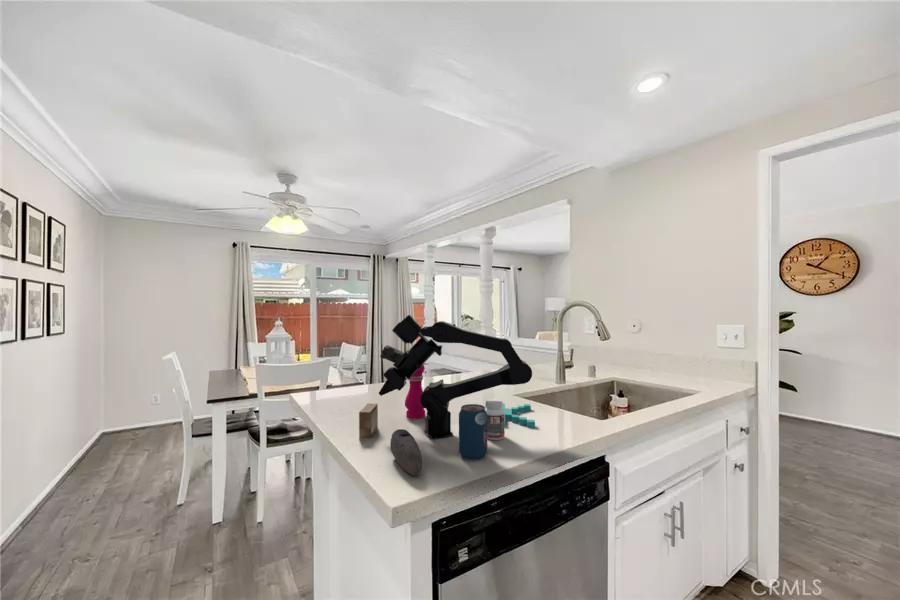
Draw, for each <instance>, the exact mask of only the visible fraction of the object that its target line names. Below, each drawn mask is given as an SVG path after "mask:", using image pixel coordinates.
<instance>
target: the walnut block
mask: <svg viewBox="0 0 900 600" xmlns="http://www.w3.org/2000/svg"><path fill="white" fill-rule="evenodd" d="M378 406H379V405H378V403H367V404H366V405H364V407H362V409H360V410H359V412H358V421H359V422H358V424H359V427H358V437H359V438H358V439H359V440H371V439H372V437H373V436H374V435H375V433H376V431H377V430H378V428H379V427H378V424H379V418H378V415H379V414H378V411H379V409H378ZM370 438H371V439H370Z"/></svg>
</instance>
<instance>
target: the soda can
mask: <svg viewBox="0 0 900 600" xmlns="http://www.w3.org/2000/svg"><path fill="white" fill-rule="evenodd" d="M484 406H485V405H481V404H479V403H478V404H476V403H469V404H464V405H461V407H460V410H459V413H458V452H459V454H460V457H461V458H462V459H463V460H466V461H469V462H479V461H481V460H484V459H485V457H486V455H488V439H487V413H486V411H485V407H484ZM483 458H484V459H483ZM478 460H479V461H478Z"/></svg>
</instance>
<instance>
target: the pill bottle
mask: <svg viewBox="0 0 900 600" xmlns="http://www.w3.org/2000/svg"><path fill="white" fill-rule="evenodd" d="M502 403H503V400H500V399H494V398H493V399H488V400H485V405H486V407H487V408H486V409H485V411H486V413H487V440H491V441H499V440H502V439H504V438H505V436H506V435H505V427H504V410H503V409H502V406H503V404H502Z"/></svg>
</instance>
